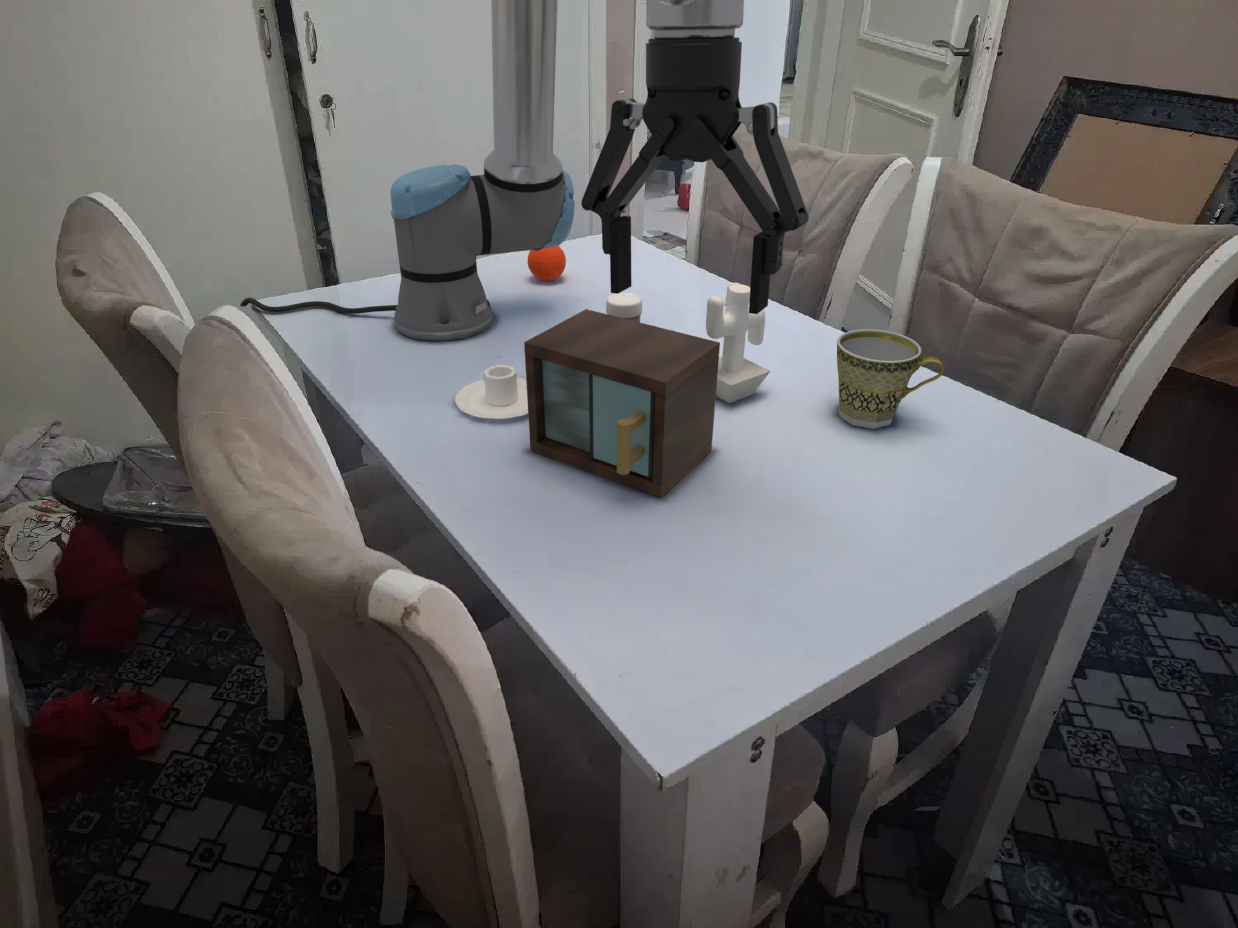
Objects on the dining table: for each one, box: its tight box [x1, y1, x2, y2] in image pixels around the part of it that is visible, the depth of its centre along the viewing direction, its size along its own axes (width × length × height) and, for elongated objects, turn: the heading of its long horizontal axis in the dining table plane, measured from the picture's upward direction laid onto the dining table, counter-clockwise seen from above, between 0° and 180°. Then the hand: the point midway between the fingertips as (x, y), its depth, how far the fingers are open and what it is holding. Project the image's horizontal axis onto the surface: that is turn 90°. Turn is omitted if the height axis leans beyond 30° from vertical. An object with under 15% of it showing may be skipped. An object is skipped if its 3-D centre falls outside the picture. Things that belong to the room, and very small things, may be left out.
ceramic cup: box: [836, 328, 945, 430], centre depth 102 cm, size 13×10×10 cm
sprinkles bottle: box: [605, 292, 643, 323], centre depth 107 cm, size 5×5×14 cm
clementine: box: [526, 245, 567, 282], centre depth 147 cm, size 8×7×7 cm
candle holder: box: [454, 364, 528, 420], centre depth 107 cm, size 12×12×4 cm
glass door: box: [589, 373, 655, 478], centre depth 87 cm, size 8×5×10 cm, turn 57°
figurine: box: [705, 282, 771, 404], centre depth 106 cm, size 7×9×15 cm
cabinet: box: [523, 308, 721, 499], centre depth 93 cm, size 18×12×14 cm, turn 57°
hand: (687, 299), depth 74 cm, fingers open, 13 cm apart
